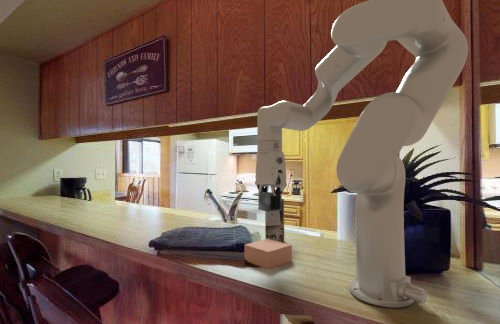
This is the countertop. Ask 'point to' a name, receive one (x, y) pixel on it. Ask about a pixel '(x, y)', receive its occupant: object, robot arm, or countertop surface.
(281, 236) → the coffee box
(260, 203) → the slate cube
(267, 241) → the terracotta block
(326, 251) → the countertop surface
